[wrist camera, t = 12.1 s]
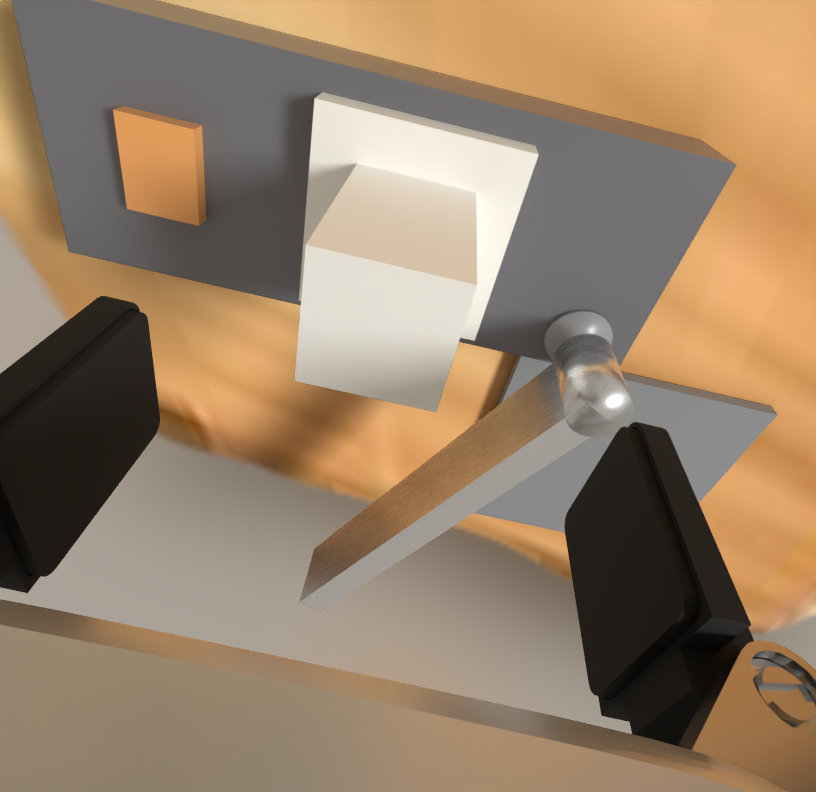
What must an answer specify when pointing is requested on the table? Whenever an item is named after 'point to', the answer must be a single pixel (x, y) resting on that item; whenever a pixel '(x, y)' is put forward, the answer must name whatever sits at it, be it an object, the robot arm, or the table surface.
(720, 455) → the mat
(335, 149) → the plug
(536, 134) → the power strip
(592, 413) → the grey long bar
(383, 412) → the table surface
